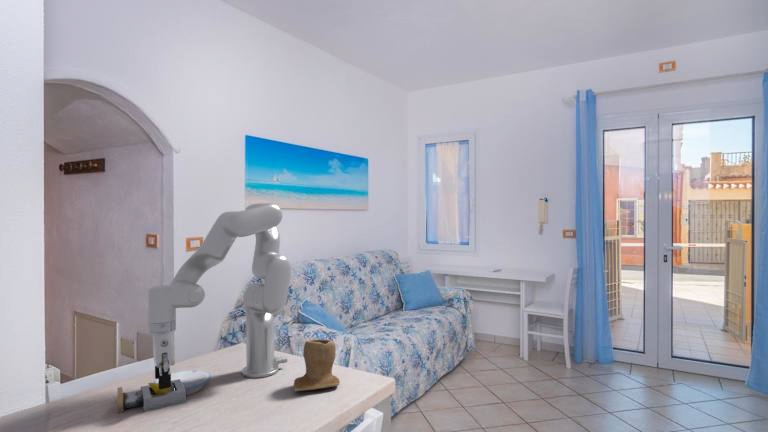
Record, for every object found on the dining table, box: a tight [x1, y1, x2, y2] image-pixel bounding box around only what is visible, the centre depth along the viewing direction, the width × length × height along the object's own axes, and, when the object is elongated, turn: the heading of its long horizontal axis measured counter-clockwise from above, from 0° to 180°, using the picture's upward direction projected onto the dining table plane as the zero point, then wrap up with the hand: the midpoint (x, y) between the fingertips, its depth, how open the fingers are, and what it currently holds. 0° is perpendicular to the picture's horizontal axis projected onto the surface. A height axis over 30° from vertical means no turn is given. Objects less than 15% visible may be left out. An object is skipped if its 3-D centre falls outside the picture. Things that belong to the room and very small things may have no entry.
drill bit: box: [147, 382, 174, 394], centre depth 131 cm, size 5×5×10 cm
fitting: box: [116, 378, 187, 414], centre depth 130 cm, size 17×11×6 cm, turn 123°
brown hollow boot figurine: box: [293, 338, 341, 392], centre depth 142 cm, size 15×12×15 cm
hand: (162, 382), depth 132 cm, fingers open, 9 cm apart
